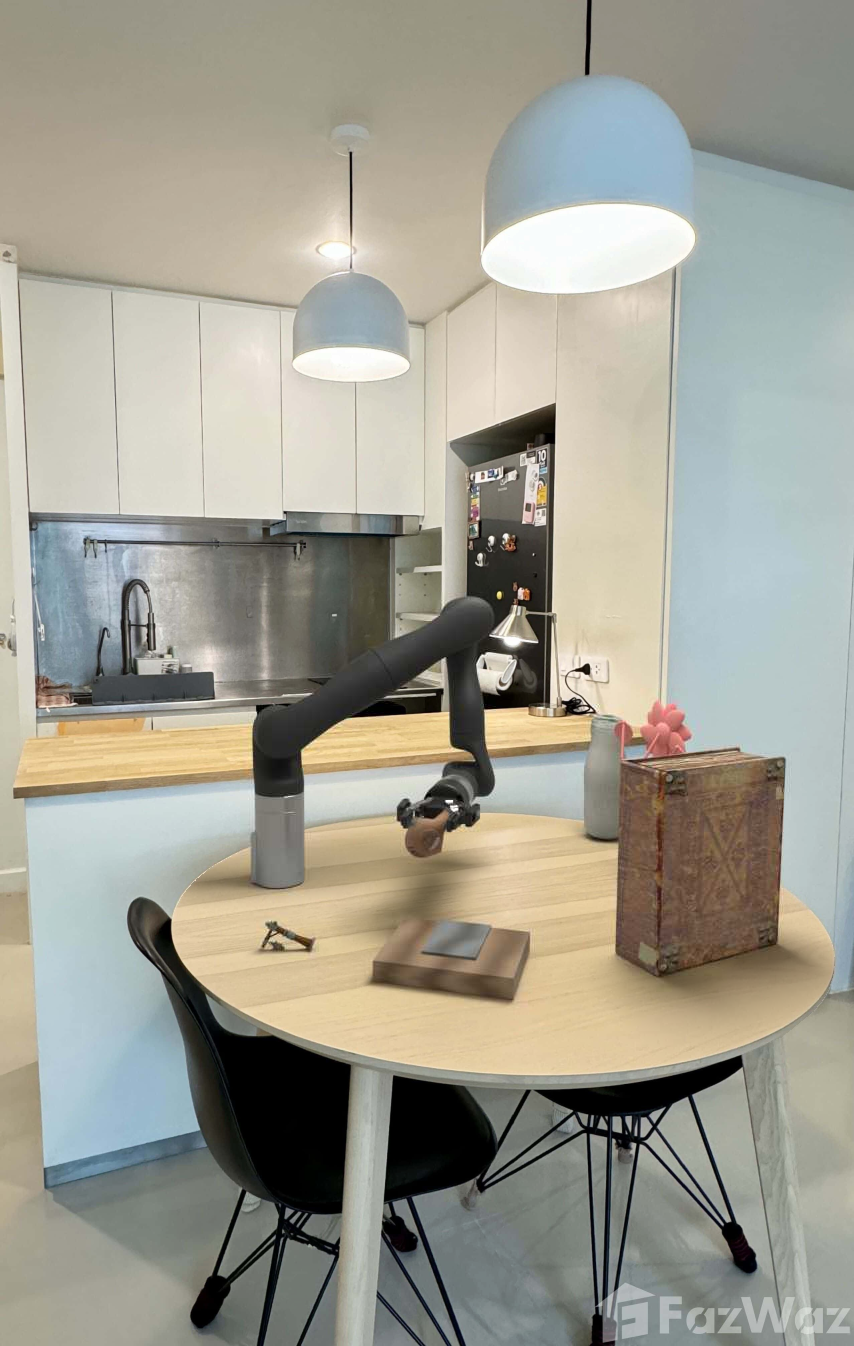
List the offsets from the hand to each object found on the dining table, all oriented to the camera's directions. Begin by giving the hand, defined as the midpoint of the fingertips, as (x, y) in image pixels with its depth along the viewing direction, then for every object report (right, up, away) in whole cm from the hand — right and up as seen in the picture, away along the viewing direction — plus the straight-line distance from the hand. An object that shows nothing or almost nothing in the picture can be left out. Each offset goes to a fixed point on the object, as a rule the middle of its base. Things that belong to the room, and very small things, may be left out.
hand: (426, 824), depth 132 cm
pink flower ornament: (+45, -16, +25) cm, 54 cm away
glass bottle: (+40, -13, +54) cm, 69 cm away
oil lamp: (+1, -6, +3) cm, 7 cm away
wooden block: (+4, -19, -11) cm, 22 cm away
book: (+42, -19, -4) cm, 46 cm away
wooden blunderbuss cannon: (-21, -18, -6) cm, 29 cm away
